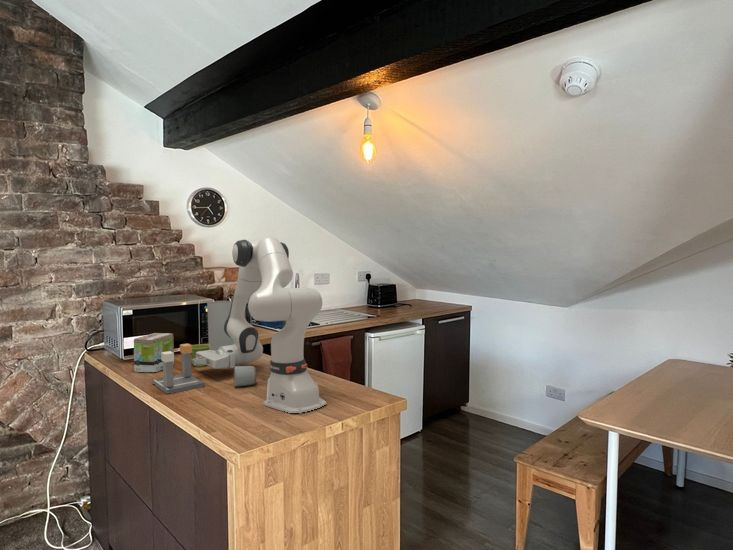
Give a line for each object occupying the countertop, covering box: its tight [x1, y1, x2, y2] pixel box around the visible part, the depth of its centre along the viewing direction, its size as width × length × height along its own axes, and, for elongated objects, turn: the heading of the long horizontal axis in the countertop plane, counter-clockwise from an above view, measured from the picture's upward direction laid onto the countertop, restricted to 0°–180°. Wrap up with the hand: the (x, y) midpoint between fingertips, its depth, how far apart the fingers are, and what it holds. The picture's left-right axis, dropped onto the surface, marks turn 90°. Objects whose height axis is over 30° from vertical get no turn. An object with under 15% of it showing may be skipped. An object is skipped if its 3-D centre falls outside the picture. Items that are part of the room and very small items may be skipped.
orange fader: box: [179, 343, 193, 377], centre depth 192 cm, size 4×3×12 cm
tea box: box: [133, 332, 175, 373], centre depth 210 cm, size 15×10×15 cm, turn 171°
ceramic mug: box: [233, 365, 257, 387], centre depth 186 cm, size 11×8×8 cm
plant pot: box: [191, 343, 210, 368], centre depth 215 cm, size 9×9×9 cm
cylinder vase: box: [206, 300, 234, 351], centre depth 242 cm, size 12×12×25 cm
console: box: [151, 373, 206, 395], centre depth 186 cm, size 18×14×2 cm
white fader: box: [161, 351, 175, 387], centre depth 178 cm, size 4×3×12 cm
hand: (192, 362), depth 193 cm, fingers closed
